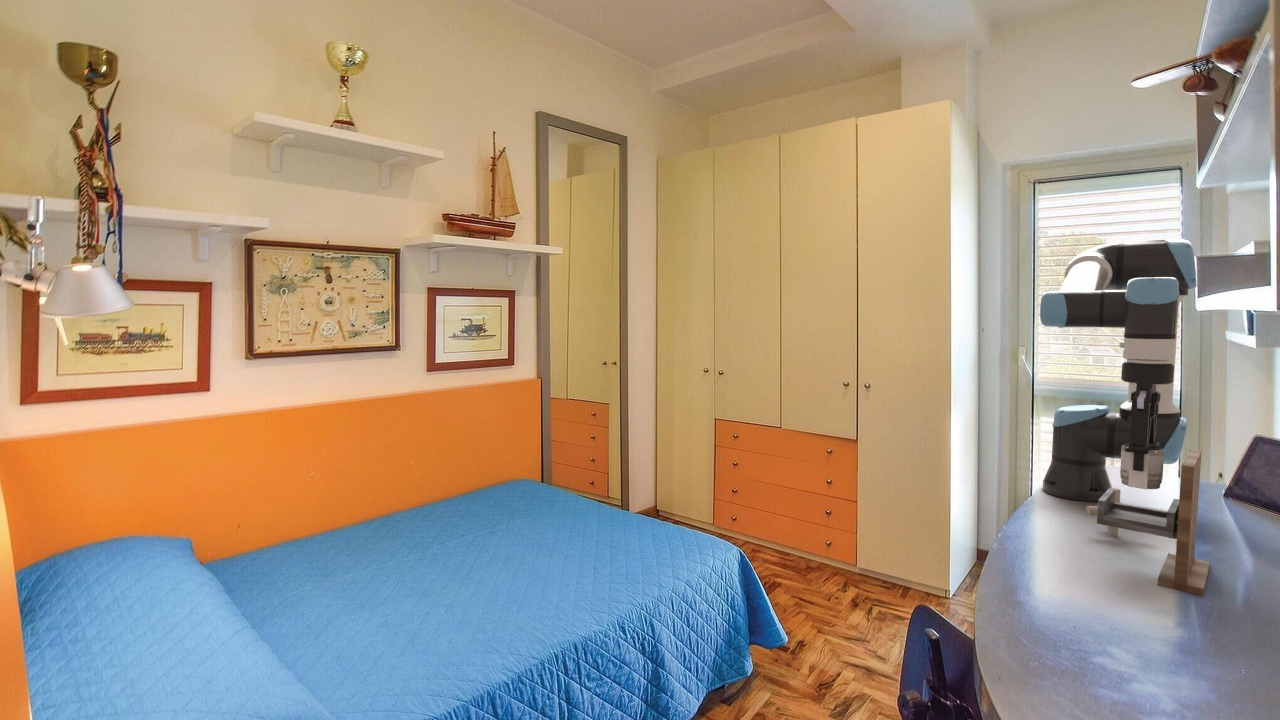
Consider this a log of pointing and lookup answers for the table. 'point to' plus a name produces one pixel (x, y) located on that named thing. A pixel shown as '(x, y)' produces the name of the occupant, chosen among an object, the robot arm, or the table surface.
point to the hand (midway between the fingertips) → (1140, 483)
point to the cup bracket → (1167, 528)
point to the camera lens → (1154, 465)
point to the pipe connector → (1094, 511)
